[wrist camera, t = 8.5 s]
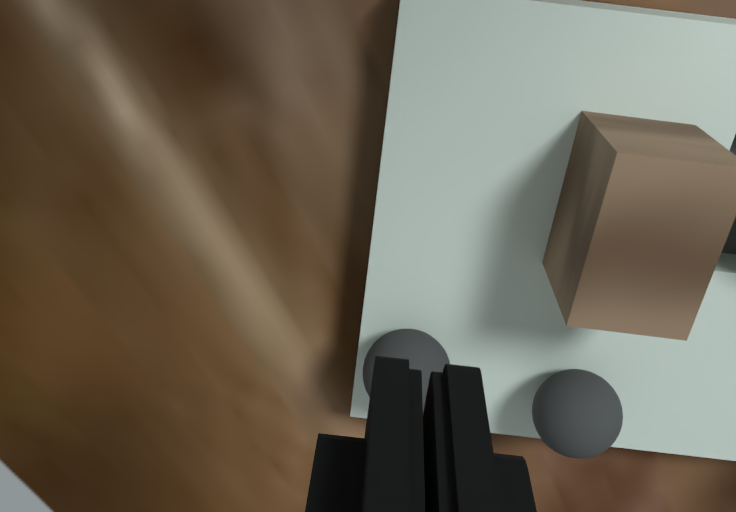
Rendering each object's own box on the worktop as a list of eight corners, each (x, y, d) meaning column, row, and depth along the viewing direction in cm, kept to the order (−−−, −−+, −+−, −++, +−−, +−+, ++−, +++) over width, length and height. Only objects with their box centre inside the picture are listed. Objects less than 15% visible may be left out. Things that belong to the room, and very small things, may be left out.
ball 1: (369, 307, 28) (364, 357, 25) (455, 316, 28) (461, 368, 25) (360, 376, 30) (355, 432, 26) (441, 385, 30) (446, 442, 26)
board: (402, -21, 24) (401, -4, 20) (1023, 53, 24) (1162, 86, 20) (353, 388, 32) (345, 465, 28) (817, 441, 32) (882, 527, 28)
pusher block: (581, 110, 24) (617, 152, 20) (695, 125, 24) (754, 169, 20) (542, 262, 27) (566, 326, 23) (644, 275, 27) (686, 340, 23)
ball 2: (535, 347, 28) (551, 401, 25) (619, 356, 28) (645, 412, 25) (518, 413, 30) (531, 472, 27) (597, 422, 30) (620, 482, 27)
